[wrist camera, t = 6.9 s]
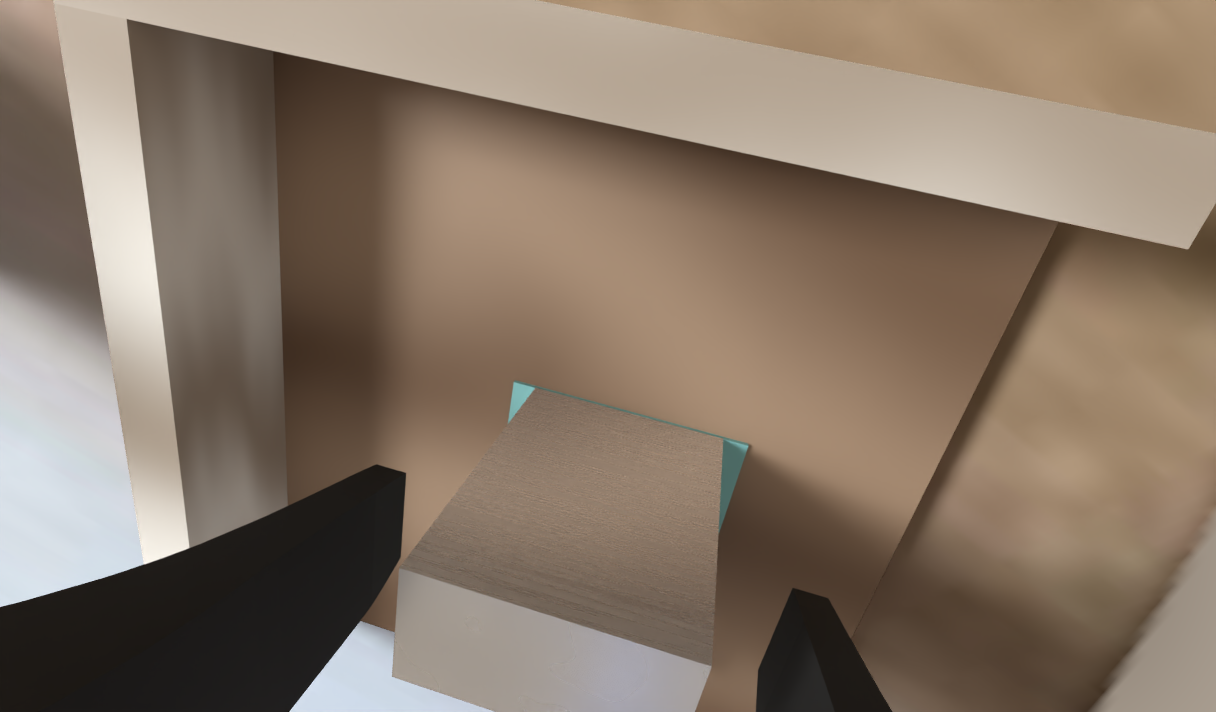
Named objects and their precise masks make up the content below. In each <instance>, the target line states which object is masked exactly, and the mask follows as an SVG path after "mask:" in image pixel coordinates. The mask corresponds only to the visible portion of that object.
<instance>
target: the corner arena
mask: <svg viewBox="0 0 1216 712" xmlns="http://www.w3.org/2000/svg"><path fill="white" fill-rule="evenodd" d="M53 4H54V10H55V16H56V22H57V28H58V35H59V41H60V47H61V53H62V59H63V66H64V72H65V78H66V84H67V90H68V97H69V103H70V109H71V115H72V121H73V128H74V134H75V140H76V146H77V152H78V159H79V165H80V171H81V177H82V183H83V190H84V196H85V202H86V208H87V214H88V221H89V227H90V233H91V239H92V245H93V252H94V258H95V264H96V270H97V276H98V283H99V289H100V295H101V301H102V307H103V314H104V320H105V326H106V332H107V338H108V345H109V351H110V357H111V363H112V369H113V376H114V382H115V388H116V394H117V400H118V407H119V413H120V419H121V425H122V431H123V438H124V444H125V450H126V456H127V462H128V469H129V475H130V481H131V487H132V494H133V500H134V506H135V512H136V518H137V525H138V531H139V537H140V543H141V549H142V556H143V562H144V564H147V563H150V562H153V561H156V560H159V559H161V558H164V557H167V556H170V555H172V554H175V553H178V552H180V551H183V550H186V549H188V548H191V547H193V546H196V545H199V544H201V543H203V542H206V541H208V540H211V539H213V538H215V537H218V536H220V535H222V534H225V533H227V532H229V531H232V530H234V529H237V528H239V527H241V526H244V525H246V524H248V523H251V522H253V521H256V520H258V519H260V518H263V517H265V516H267V515H269V514H271V513H274V512H276V511H278V510H280V509H282V508H284V507H286V506H289V505H291V504H293V503H295V502H297V501H299V500H301V499H303V498H306V497H308V496H310V495H312V494H314V493H316V492H318V491H320V490H322V489H324V488H327V487H329V486H331V485H333V484H335V483H337V482H339V481H341V480H343V479H345V478H347V477H349V476H351V475H354V474H356V473H358V472H360V471H362V470H364V469H366V468H369V467H371V466H373V465H376V464H378V465H381V466H384V467H388V468H391V469H394V470H398V471H401V472H405V473H406V486H405V501H404V516H403V531H402V546H401V558H400V560H399V561H398V563H397V565H396V566H395V568H394V570H393V572H392V573H391V575H390V577H389V578H388V580H387V582H386V583H385V585H384V587H383V588H382V590H381V592H380V593H379V595H378V596H377V598H376V600H375V601H374V603H373V604H372V606H371V607H370V609H369V610H368V611H367V613H366V614H365V615H364V617H363V618H362V619H361V620H360V621H363V622H366V623H369V624H372V625H375V626H378V627H381V628H384V629H387V630H390V631H393V632H395V624H396V609H397V593H398V578H399V567H400V566H401V565H402V563H403V562H404V561H405V560H406V558H407V557H408V556H409V554H410V553H411V552H412V550H413V549H414V548H415V546H416V545H417V544H418V542H419V541H420V540H421V538H422V537H423V536H424V534H425V533H426V532H427V530H428V529H429V528H430V526H431V525H432V524H433V522H434V521H435V520H436V519H437V517H438V516H439V515H440V513H441V512H442V511H443V509H444V508H445V507H446V505H447V504H448V503H449V501H450V500H451V499H452V497H453V496H454V495H455V493H456V492H457V491H458V489H459V488H460V487H461V485H462V484H463V483H464V481H465V480H466V479H467V478H468V476H469V475H470V474H471V472H472V471H473V470H474V468H475V467H476V466H477V464H478V463H479V462H480V460H481V459H482V458H483V456H484V455H485V454H486V452H487V451H488V450H489V448H490V447H491V446H492V444H493V443H494V442H495V440H496V439H497V438H498V437H499V435H500V434H501V433H502V431H503V430H504V429H505V427H506V426H507V425H508V423H509V422H510V421H511V419H512V418H513V417H514V415H515V414H516V413H517V411H518V410H519V409H520V407H521V406H522V405H523V403H524V402H525V401H526V399H527V398H528V397H529V396H530V394H531V393H532V392H533V390H534V389H535V388H539V389H543V390H546V391H550V392H554V393H557V394H561V395H565V396H568V397H572V398H576V399H579V400H583V401H587V402H590V403H594V404H598V405H601V406H605V407H609V408H612V409H616V410H620V411H623V412H627V413H631V414H634V415H638V416H642V417H645V418H649V419H653V420H656V421H660V422H664V423H667V424H671V425H675V426H678V427H682V428H686V429H690V430H693V431H697V432H701V433H704V434H708V435H712V436H715V437H719V438H723V453H722V473H721V493H720V513H719V533H718V553H717V573H716V592H715V612H714V632H713V652H712V667H711V670H710V673H709V675H708V678H707V681H706V683H705V686H704V689H703V691H702V694H701V697H700V699H699V702H698V705H697V707H696V710H695V712H756V697H757V679H758V669H759V666H760V664H761V661H762V659H763V657H764V654H765V652H766V650H767V647H768V645H769V643H770V640H771V638H772V635H773V633H774V631H775V628H776V626H777V624H778V621H779V619H780V616H781V614H782V612H783V609H784V607H785V605H786V602H787V600H788V597H789V595H790V593H791V590H792V588H796V589H799V590H803V591H806V592H809V593H813V594H816V595H819V596H823V597H826V598H828V599H829V600H830V602H831V604H832V606H833V607H834V609H835V611H836V613H837V615H838V616H839V618H840V620H841V622H842V624H843V626H844V627H845V629H846V631H847V633H848V635H849V637H850V638H852V636H853V634H854V632H855V630H856V628H857V626H858V624H859V622H860V620H861V618H862V616H863V614H864V612H865V610H866V608H867V606H868V604H869V602H870V600H871V598H872V596H873V594H874V592H875V590H876V588H877V586H878V584H879V582H880V580H881V578H882V576H883V574H884V572H885V570H886V568H887V566H888V564H889V562H890V560H891V558H892V556H893V554H894V552H895V550H896V548H897V546H898V544H899V542H900V540H901V538H902V536H903V534H904V532H905V530H906V528H907V526H908V524H909V522H910V520H911V518H912V516H913V514H914V512H915V510H916V508H917V506H918V504H919V502H920V500H921V498H922V496H923V494H924V492H925V490H926V488H927V486H928V484H929V482H930V480H931V478H932V476H933V474H934V472H935V470H936V468H937V466H938V464H939V462H940V460H941V458H942V456H943V454H944V452H945V450H946V448H947V446H948V444H949V442H950V440H951V438H952V436H953V434H954V432H955V430H956V428H957V426H958V424H959V422H960V420H961V417H962V415H963V413H964V411H965V409H966V407H967V405H968V403H969V401H970V399H971V397H972V395H973V393H974V391H975V389H976V387H977V385H978V383H979V381H980V379H981V377H982V375H983V373H984V371H985V369H986V367H987V365H988V363H989V361H990V359H991V357H992V355H993V353H994V351H995V349H996V347H997V345H998V343H999V341H1000V339H1001V337H1002V335H1003V333H1004V331H1005V329H1006V327H1007V325H1008V323H1009V321H1010V319H1011V317H1012V315H1013V313H1014V311H1015V309H1016V307H1017V305H1018V303H1019V301H1020V299H1021V297H1022V295H1023V293H1024V291H1025V289H1026V287H1027V285H1028V283H1029V281H1030V279H1031V277H1032V275H1033V273H1034V271H1035V269H1036V267H1037V265H1038V263H1039V261H1040V259H1041V257H1042V255H1043V253H1044V251H1045V249H1046V247H1047V245H1048V243H1049V241H1050V239H1051V237H1052V235H1053V233H1054V231H1055V229H1056V227H1057V225H1058V223H1059V222H1064V223H1068V224H1073V225H1078V226H1082V227H1087V228H1091V229H1096V230H1101V231H1105V232H1110V233H1114V234H1119V235H1124V236H1128V237H1133V238H1137V239H1142V240H1147V241H1151V242H1156V243H1161V244H1165V245H1170V246H1174V247H1179V248H1184V249H1189V247H1190V246H1191V244H1192V242H1193V241H1194V239H1195V237H1196V235H1197V234H1198V232H1199V230H1200V229H1201V227H1202V225H1203V224H1204V222H1205V220H1206V219H1207V217H1208V215H1209V214H1210V212H1211V210H1212V209H1213V207H1214V205H1215V204H1216V133H1211V132H1206V131H1201V130H1195V129H1190V128H1185V127H1180V126H1175V125H1170V124H1165V123H1160V122H1155V121H1150V120H1144V119H1139V118H1134V117H1129V116H1124V115H1119V114H1114V113H1109V112H1104V111H1099V110H1093V109H1088V108H1083V107H1078V106H1073V105H1068V104H1063V103H1058V102H1053V101H1048V100H1042V99H1037V98H1032V97H1027V96H1022V95H1017V94H1012V93H1007V92H1002V91H996V90H991V89H986V88H981V87H976V86H971V85H966V84H961V83H956V82H951V81H945V80H940V79H935V78H930V77H925V76H920V75H915V74H910V73H905V72H900V71H894V70H889V69H884V68H879V67H874V66H869V65H864V64H859V63H854V62H849V61H843V60H838V59H833V58H828V57H823V56H818V55H813V54H808V53H803V52H798V51H792V50H787V49H782V48H777V47H772V46H767V45H762V44H757V43H752V42H746V41H741V40H736V39H731V38H726V37H721V36H716V35H711V34H706V33H701V32H695V31H690V30H685V29H680V28H675V27H670V26H665V25H660V24H655V23H650V22H644V21H639V20H634V19H629V18H624V17H619V16H614V15H609V14H604V13H599V12H593V11H588V10H583V9H578V8H573V7H568V6H563V5H558V4H553V3H547V2H542V1H537V0H53Z"/></svg>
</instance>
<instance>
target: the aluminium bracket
mask: <svg viewBox="0 0 1216 712" xmlns="http://www.w3.org/2000/svg"><path fill="white" fill-rule="evenodd" d="M722 453H723V438H719V437H715V436H712V435H708V434H704V433H701V432H697V431H693V430H690V429H686V428H682V427H678V426H675V425H671V424H667V423H664V422H660V421H656V420H653V419H649V418H645V417H642V416H638V415H634V414H631V413H627V412H623V411H620V410H616V409H612V408H609V407H605V406H601V405H598V404H594V403H590V402H587V401H583V400H579V399H576V398H572V397H568V396H565V395H561V394H557V393H554V392H550V391H546V390H543V389H539V388H535V389H534V390H533V392H532V393H531V394H530V396H529V397H528V398H527V399H526V401H525V402H524V403H523V405H522V406H521V407H520V409H519V410H518V411H517V413H516V414H515V415H514V417H513V418H512V419H511V421H510V422H509V423H508V425H507V426H506V427H505V429H504V430H503V431H502V433H501V434H500V435H499V437H498V438H497V439H496V440H495V442H494V443H493V444H492V446H491V447H490V448H489V450H488V451H487V452H486V454H485V455H484V456H483V458H482V459H481V460H480V462H479V463H478V464H477V466H476V467H475V468H474V470H473V471H472V472H471V474H470V475H469V476H468V478H467V479H466V480H465V481H464V483H463V484H462V485H461V487H460V488H459V489H458V491H457V492H456V493H455V495H454V496H453V497H452V499H451V500H450V501H449V503H448V504H447V505H446V507H445V508H444V509H443V511H442V512H441V513H440V515H439V516H438V517H437V519H436V520H435V521H434V522H433V524H432V525H431V526H430V528H429V529H428V530H427V532H426V533H425V534H424V536H423V537H422V538H421V540H420V541H419V542H418V544H417V545H416V546H415V548H414V549H413V550H412V552H411V553H410V554H409V556H408V557H407V558H406V560H405V561H404V562H403V563H402V565H401V566H400V567H399V578H398V593H397V609H396V624H395V639H394V655H393V670H392V677H395V678H398V679H401V680H404V681H406V682H409V683H412V684H415V685H418V686H421V687H424V688H427V689H430V690H433V691H436V692H439V693H442V694H445V695H448V696H451V697H454V698H457V699H460V700H463V701H466V702H468V703H471V704H474V705H477V706H480V707H483V708H486V709H489V710H492V711H495V712H695V710H696V707H697V705H698V702H699V699H700V697H701V694H702V691H703V689H704V686H705V683H706V681H707V678H708V675H709V673H710V670H711V667H712V652H713V632H714V612H715V592H716V573H717V553H718V533H719V513H720V493H721V473H722Z"/></svg>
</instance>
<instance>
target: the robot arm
mask: <svg viewBox="0 0 1216 712" xmlns="http://www.w3.org/2000/svg"><path fill="white" fill-rule="evenodd" d="M405 486H406V473H405V472H401V471H398V470H394V469H391V468H388V467H384V466H381V465H378V464H376V465H373V466H371V467H369V468H366V469H364V470H362V471H360V472H358V473H356V474H354V475H351V476H349V477H347V478H345V479H343V480H341V481H339V482H337V483H335V484H333V485H331V486H329V487H327V488H324V489H322V490H320V491H318V492H316V493H314V494H312V495H310V496H308V497H306V498H303V499H301V500H299V501H297V502H295V503H293V504H291V505H289V506H286V507H284V508H282V509H280V510H278V511H276V512H274V513H271V514H269V515H267V516H265V517H263V518H260V519H258V520H256V521H253V522H251V523H248V524H246V525H244V526H241V527H239V528H237V529H234V530H232V531H229V532H227V533H225V534H222V535H220V536H218V537H215V538H213V539H211V540H208V541H206V542H203V543H201V544H199V545H196V546H193V547H191V548H188V549H186V550H183V551H180V552H178V553H175V554H172V555H170V556H167V557H164V558H161V559H159V560H156V561H153V562H150V563H147V564H144V565H141V566H138V567H135V568H132V569H130V570H127V571H124V572H121V573H118V574H115V575H111V576H108V577H105V578H102V579H98V580H95V581H92V582H88V583H85V584H81V585H78V586H74V587H71V588H67V589H64V590H61V591H57V592H54V593H50V594H47V595H43V596H40V597H36V598H33V599H30V600H26V601H22V602H19V603H15V604H11V605H7V606H3V607H0V712H289V711H290V710H291V709H292V707H293V706H294V705H295V704H296V702H297V701H298V700H299V698H300V697H301V696H302V695H303V693H304V692H305V691H306V690H307V688H308V687H309V686H310V684H311V683H312V682H313V681H314V679H315V678H316V677H317V676H318V674H319V673H320V672H321V670H322V669H323V668H324V667H325V665H326V664H327V663H328V662H329V660H330V659H331V658H332V656H333V655H334V654H335V653H336V651H337V650H338V649H339V648H340V646H341V645H342V644H343V642H344V641H345V640H346V639H347V637H348V636H349V635H350V633H351V632H352V631H353V630H354V628H355V627H356V626H357V624H358V623H359V622H360V620H361V619H362V618H363V617H364V615H365V614H366V613H367V611H368V610H369V609H370V607H371V606H372V604H373V603H374V601H375V600H376V598H377V596H378V595H379V593H380V592H381V590H382V588H383V587H384V585H385V583H386V582H387V580H388V578H389V577H390V575H391V573H392V572H393V570H394V568H395V566H396V565H397V563H398V561H399V560H400V558H401V546H402V531H403V516H404V501H405ZM756 712H892V710H891V709H890V707H889V705H888V704H887V702H886V700H885V699H884V697H883V695H882V694H881V692H880V690H879V688H878V687H877V685H876V683H875V681H874V680H873V678H872V676H871V674H870V673H869V671H868V669H867V667H866V665H865V664H864V662H863V660H862V658H861V657H860V655H859V653H858V651H857V649H856V647H855V646H854V644H853V642H852V640H851V638H850V637H849V635H848V633H847V631H846V629H845V627H844V626H843V624H842V622H841V620H840V618H839V616H838V615H837V613H836V611H835V609H834V607H833V606H832V604H831V602H830V600H829V599H828V598H826V597H823V596H819V595H816V594H813V593H809V592H806V591H803V590H799V589H796V588H792V590H791V593H790V595H789V597H788V600H787V602H786V605H785V607H784V609H783V612H782V614H781V616H780V619H779V621H778V624H777V626H776V628H775V631H774V633H773V635H772V638H771V640H770V643H769V645H768V647H767V650H766V652H765V654H764V657H763V659H762V661H761V664H760V666H759V669H758V679H757V697H756Z"/></svg>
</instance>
